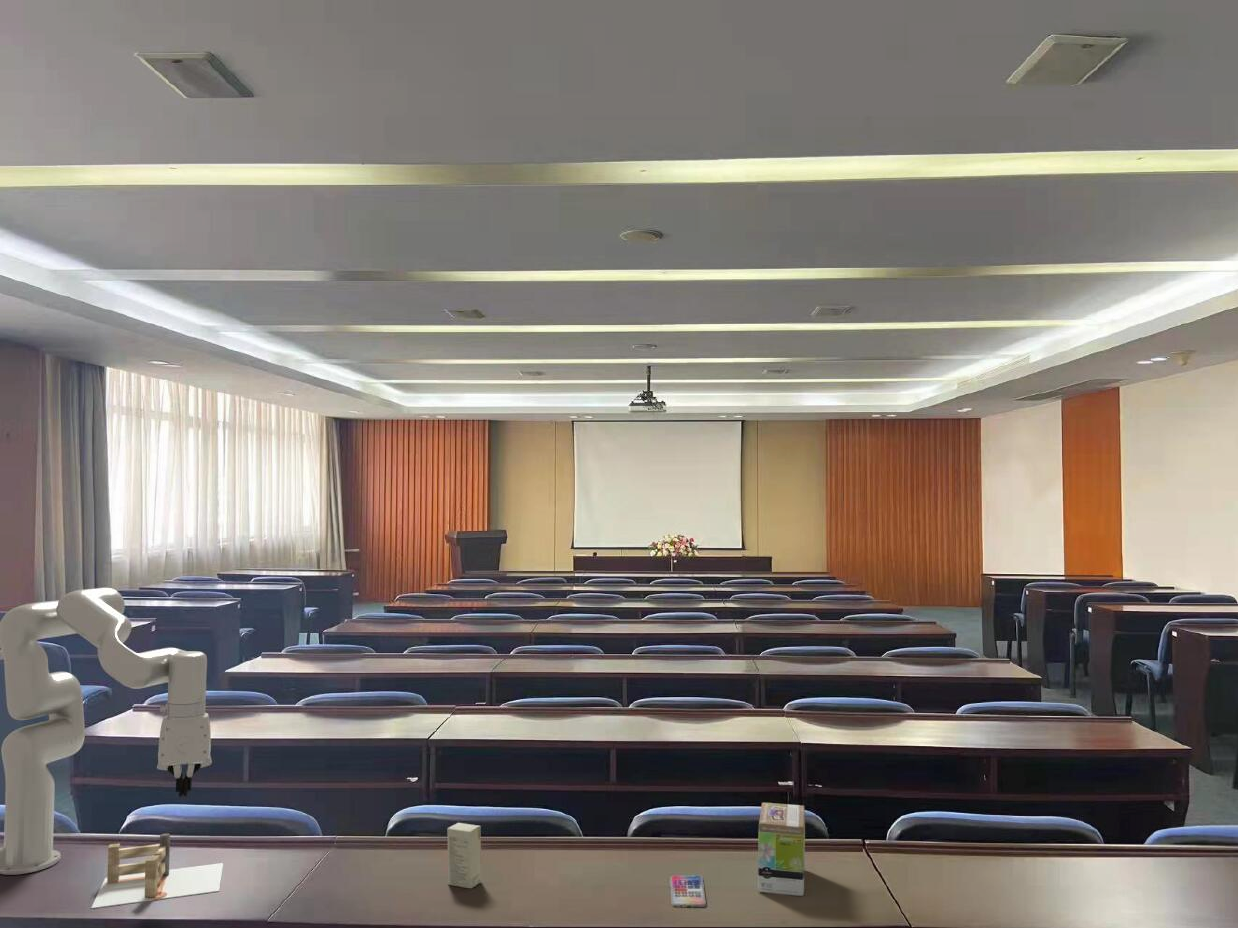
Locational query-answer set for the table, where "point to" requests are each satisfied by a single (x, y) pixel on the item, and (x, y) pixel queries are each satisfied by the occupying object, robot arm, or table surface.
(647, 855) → the table surface
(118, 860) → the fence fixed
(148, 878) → the fence gate
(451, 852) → the skincare box
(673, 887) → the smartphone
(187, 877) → the card
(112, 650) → the robot arm
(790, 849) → the tea box
